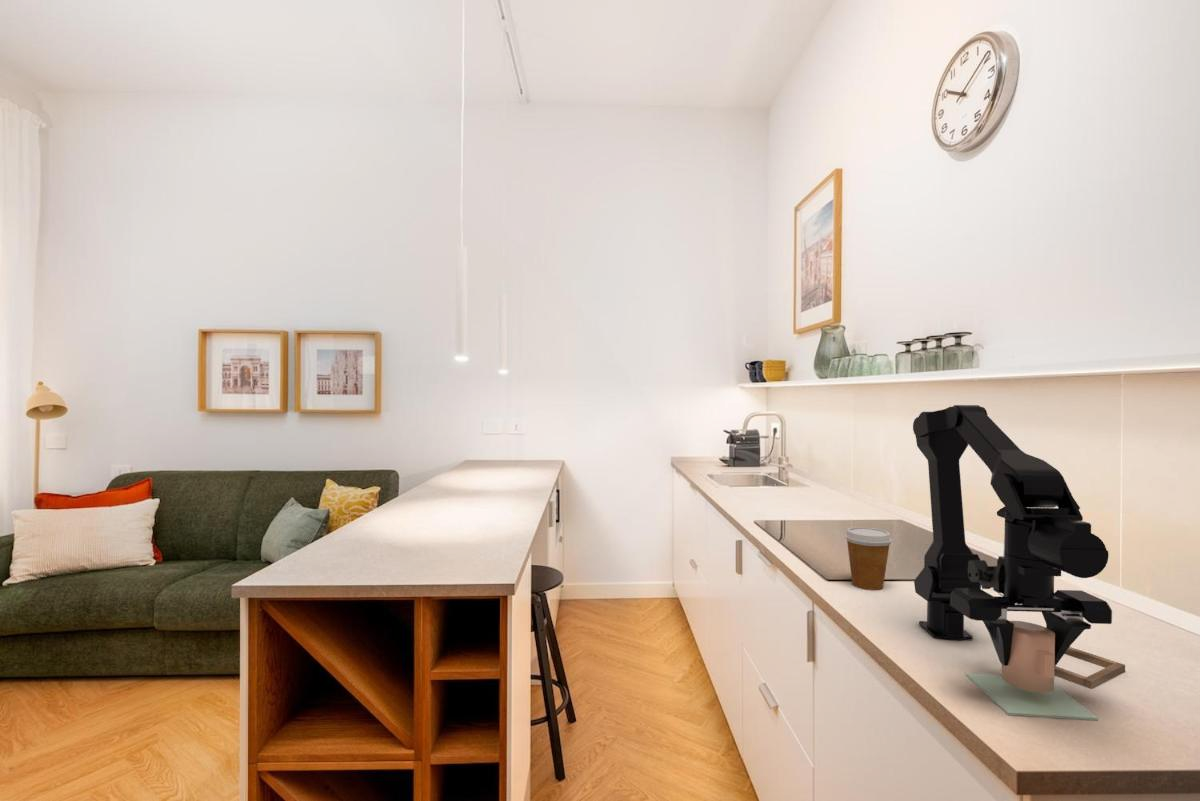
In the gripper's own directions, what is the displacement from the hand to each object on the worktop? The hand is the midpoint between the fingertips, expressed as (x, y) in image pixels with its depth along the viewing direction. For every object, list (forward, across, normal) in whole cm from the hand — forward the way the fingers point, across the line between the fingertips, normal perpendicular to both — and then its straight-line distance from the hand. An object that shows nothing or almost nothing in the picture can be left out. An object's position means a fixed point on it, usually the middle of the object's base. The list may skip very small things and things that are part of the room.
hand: (1027, 665), depth 83 cm
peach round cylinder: (+2, 0, 0) cm, 2 cm away
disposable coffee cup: (+5, +4, -47) cm, 47 cm away
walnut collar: (+4, -12, -10) cm, 17 cm away
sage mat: (+4, 0, 0) cm, 4 cm away
